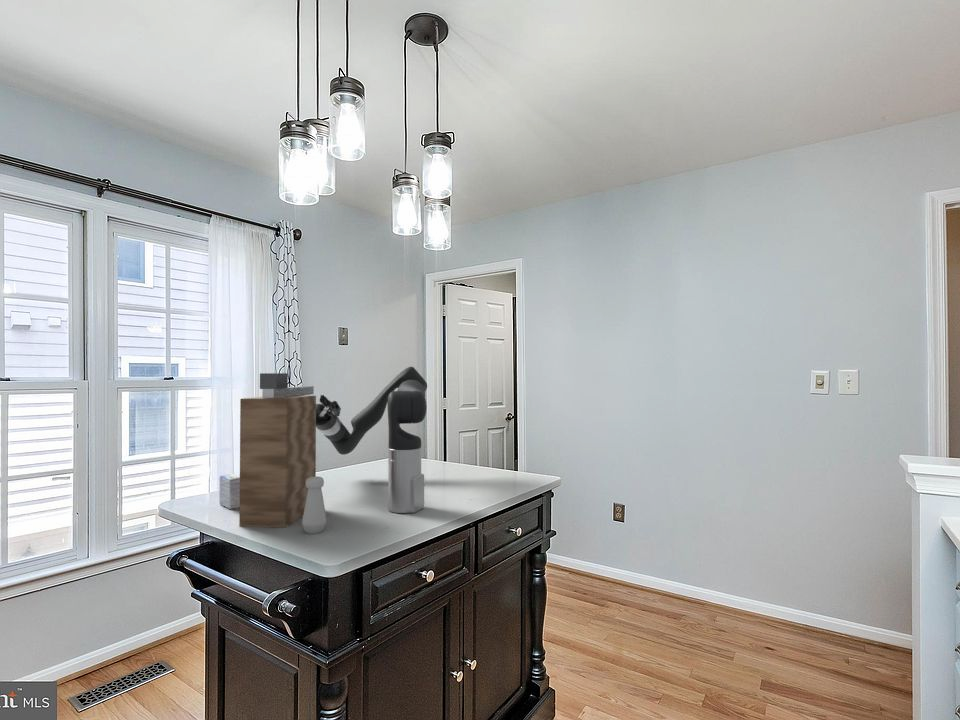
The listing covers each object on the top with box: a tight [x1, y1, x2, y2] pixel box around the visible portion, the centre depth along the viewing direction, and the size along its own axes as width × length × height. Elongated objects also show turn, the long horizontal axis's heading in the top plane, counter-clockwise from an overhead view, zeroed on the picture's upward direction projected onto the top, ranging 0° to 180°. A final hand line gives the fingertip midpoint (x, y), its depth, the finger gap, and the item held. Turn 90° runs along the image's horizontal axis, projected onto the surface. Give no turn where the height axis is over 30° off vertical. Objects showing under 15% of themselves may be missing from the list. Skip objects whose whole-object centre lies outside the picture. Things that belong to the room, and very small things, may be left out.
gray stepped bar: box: [259, 372, 315, 398], centre depth 143 cm, size 24×4×6 cm, turn 174°
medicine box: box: [219, 473, 240, 510], centre depth 148 cm, size 8×4×9 cm, turn 47°
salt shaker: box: [301, 476, 328, 535], centre depth 124 cm, size 6×6×13 cm
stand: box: [238, 395, 317, 528], centre depth 137 cm, size 18×12×32 cm, turn 174°
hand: (307, 397), depth 154 cm, fingers open, 8 cm apart
